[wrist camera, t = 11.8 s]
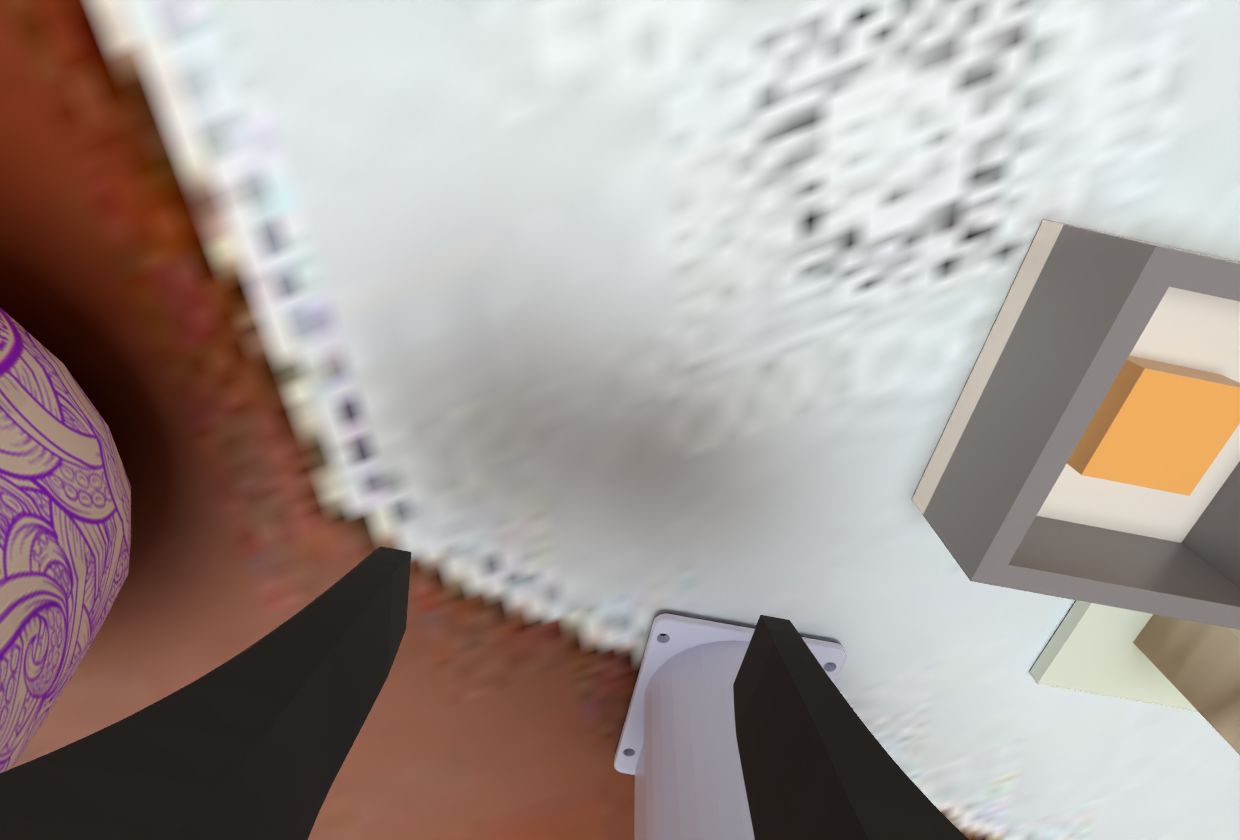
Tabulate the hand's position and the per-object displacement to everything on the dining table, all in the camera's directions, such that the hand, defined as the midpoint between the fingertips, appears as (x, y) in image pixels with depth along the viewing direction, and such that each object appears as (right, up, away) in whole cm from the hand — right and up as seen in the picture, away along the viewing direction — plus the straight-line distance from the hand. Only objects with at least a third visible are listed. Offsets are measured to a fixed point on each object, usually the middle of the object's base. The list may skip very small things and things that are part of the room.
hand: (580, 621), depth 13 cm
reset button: (+17, +4, +7) cm, 19 cm away
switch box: (+17, +5, +8) cm, 20 cm away
